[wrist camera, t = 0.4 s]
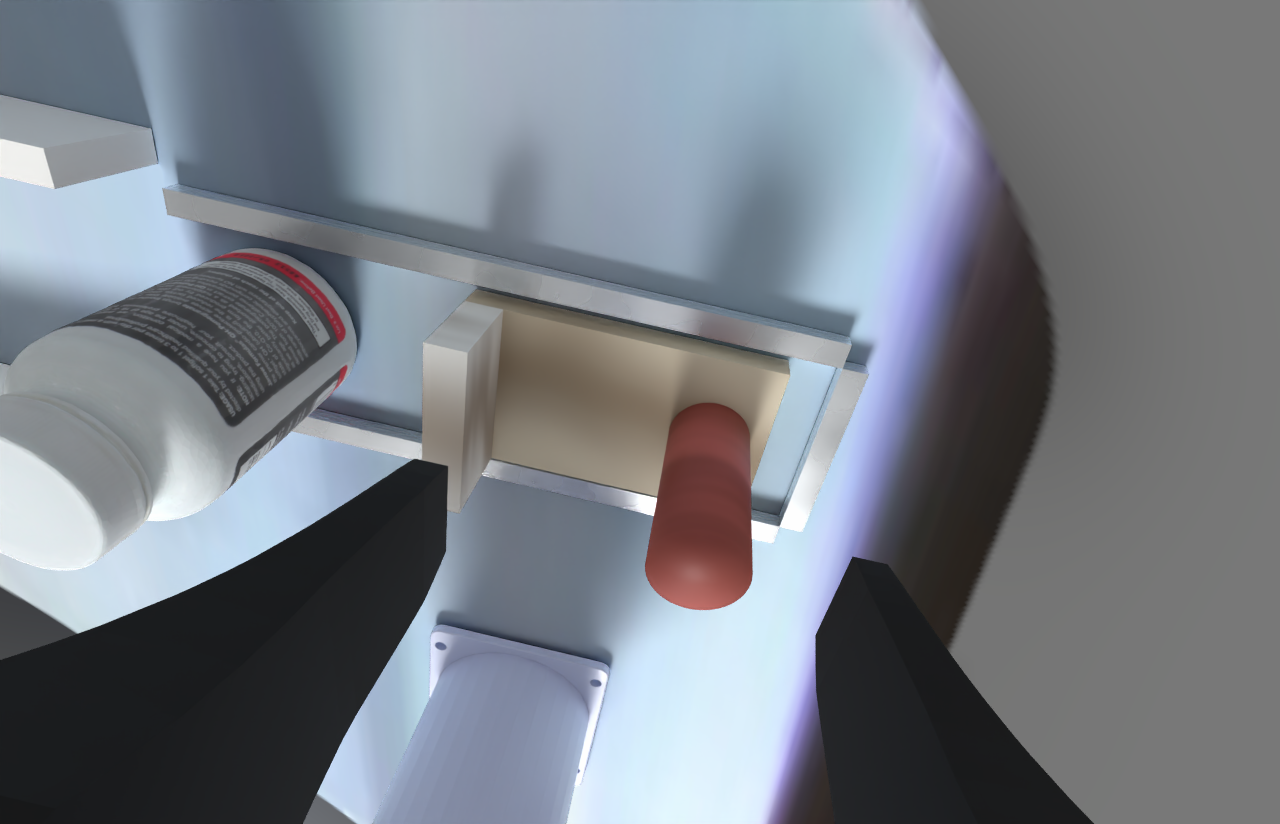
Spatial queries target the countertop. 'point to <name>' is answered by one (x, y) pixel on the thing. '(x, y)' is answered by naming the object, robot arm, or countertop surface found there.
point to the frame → (66, 149)
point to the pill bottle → (162, 402)
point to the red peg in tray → (610, 425)
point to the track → (563, 292)
